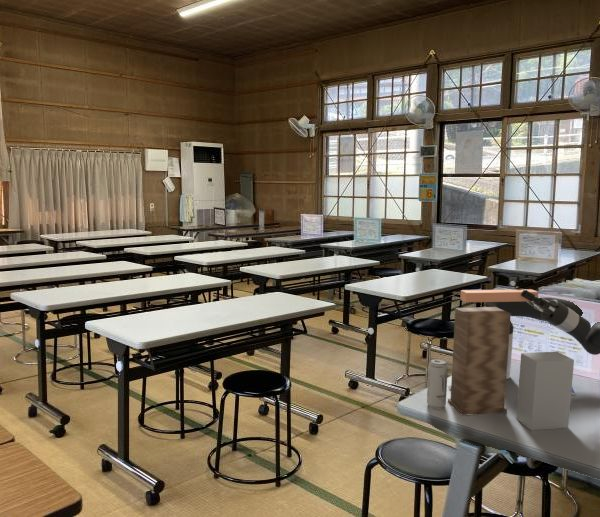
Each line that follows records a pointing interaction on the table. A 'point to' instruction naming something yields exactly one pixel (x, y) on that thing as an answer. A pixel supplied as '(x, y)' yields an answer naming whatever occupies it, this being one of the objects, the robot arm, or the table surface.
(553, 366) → the gray rectangular block
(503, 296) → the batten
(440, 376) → the energy drink can
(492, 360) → the pedestal
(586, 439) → the table surface
